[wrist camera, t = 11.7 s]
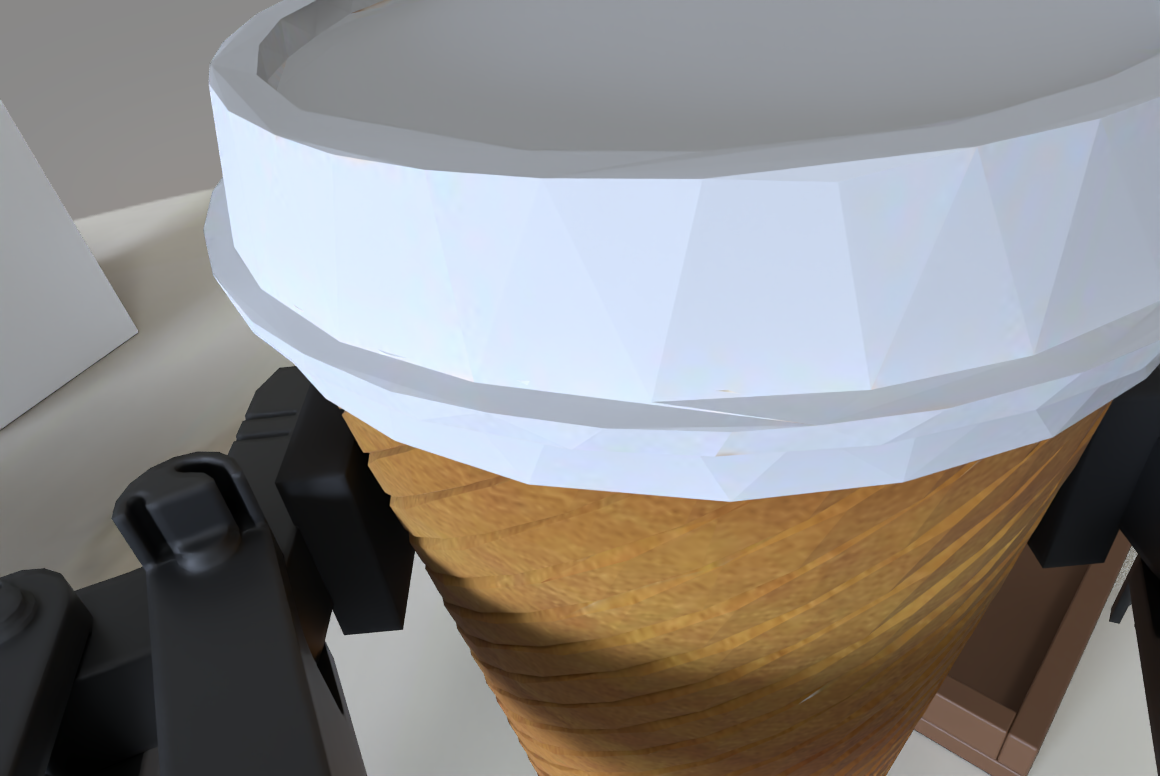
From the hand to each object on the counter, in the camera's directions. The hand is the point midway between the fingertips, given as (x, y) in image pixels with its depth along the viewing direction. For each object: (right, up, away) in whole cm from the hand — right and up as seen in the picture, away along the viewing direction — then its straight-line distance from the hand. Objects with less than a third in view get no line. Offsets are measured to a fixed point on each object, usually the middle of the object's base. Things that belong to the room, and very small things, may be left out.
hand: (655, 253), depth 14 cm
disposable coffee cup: (+1, -8, 0) cm, 8 cm away
